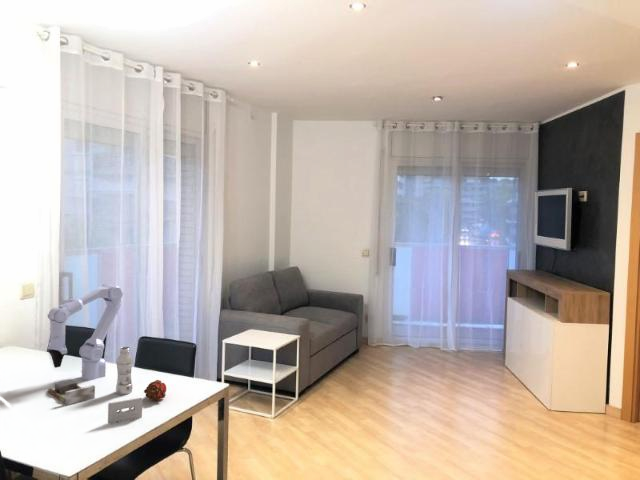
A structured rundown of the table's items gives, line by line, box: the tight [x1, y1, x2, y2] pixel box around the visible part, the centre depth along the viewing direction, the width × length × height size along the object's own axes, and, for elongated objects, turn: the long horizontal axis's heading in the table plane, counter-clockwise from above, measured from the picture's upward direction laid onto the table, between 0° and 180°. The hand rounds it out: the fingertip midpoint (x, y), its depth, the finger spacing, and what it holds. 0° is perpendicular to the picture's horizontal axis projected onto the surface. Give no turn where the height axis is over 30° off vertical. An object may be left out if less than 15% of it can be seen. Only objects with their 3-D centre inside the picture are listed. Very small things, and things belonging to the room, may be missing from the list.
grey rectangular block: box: [54, 379, 78, 395], centre depth 204 cm, size 7×5×4 cm
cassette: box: [107, 397, 143, 425], centre depth 182 cm, size 12×2×8 cm, turn 124°
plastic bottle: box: [115, 346, 134, 396], centre depth 206 cm, size 6×7×20 cm
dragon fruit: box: [143, 379, 167, 402], centre depth 203 cm, size 8×8×12 cm
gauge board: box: [46, 384, 96, 406], centre depth 201 cm, size 11×20×6 cm, turn 49°
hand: (57, 366), depth 210 cm, fingers closed
